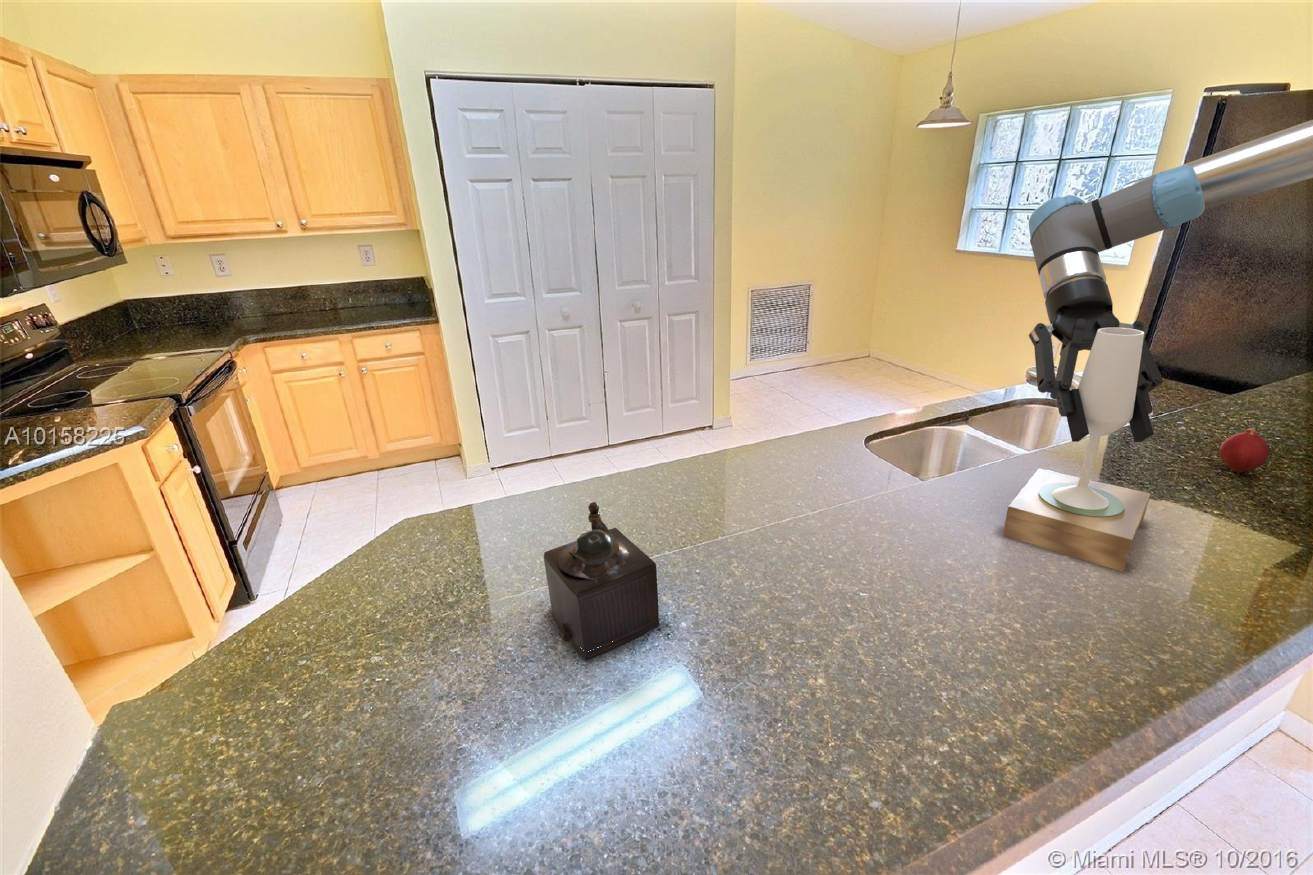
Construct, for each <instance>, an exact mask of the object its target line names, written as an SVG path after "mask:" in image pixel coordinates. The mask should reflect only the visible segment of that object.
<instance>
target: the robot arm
mask: <svg viewBox="0 0 1313 875" xmlns="http://www.w3.org/2000/svg"><path fill="white" fill-rule="evenodd" d="M1311 179H1313V119H1310V120H1308V121H1305V122H1302V123H1299V124H1296V125H1293V126H1290V127H1288V128H1284V129H1282V130H1279V131H1276V132H1273V133H1271V134H1268V135H1265V136H1261V137H1259V138H1255V139H1252V140H1250V141H1247V142H1245V143H1241V144H1238V145H1236V146H1232V147H1230V148H1227V149H1225V150H1220V151H1219V152H1216V153H1212V154H1210V155H1207V156H1204V157H1201V158H1198V159H1195V160H1193V161H1189V162H1187V163H1183V164H1182V165H1179V166H1176V167H1174V168H1170V169H1167V170H1163V171H1161V172H1158V173H1155V174H1152V175H1150V176H1147V177H1141V178H1138V179H1135V180H1132V181H1130V182H1127V183H1126V184H1125V185H1124V186H1122V187H1120V188H1119V189H1118V190H1116V191H1114V192H1111V193H1110V194H1107V195H1104V196H1102V197H1099V198H1095V199H1093V200H1089V201H1087V202H1084V200H1083V199H1082V198H1081V197H1080V196H1077V195H1072V194H1068V195H1065V196H1063V197H1061V196H1056V197H1053V198H1050V199H1048V200H1046V201H1045V202H1042V203H1041V204H1040V205H1039V206H1037V207H1036V208H1035V209H1034V211H1033V212H1032V213H1031V215H1030V217H1029V219H1028V230H1029V237H1030V239H1029V242H1030V246H1031V250H1032V254H1033V258H1034V261H1035V265H1036V270H1037V274H1038V277H1039V282H1040V286H1041V291H1042V296H1043V299H1044V305H1045V309H1046V315H1047V318H1048V321H1049V323H1048V324H1045V323H1042V322H1039V323H1037V324H1036V325H1035V326H1034V327H1033V328H1032V330H1031V331H1030V332H1029V334H1028V338H1029V339H1030V341H1031V344H1032V345H1033V347H1034V359H1035V361H1034V362H1035V373H1036V386H1037V387H1036V388H1037V391H1038V392H1039V393H1041V394H1045V393H1049V395H1050V398H1051V399H1053V400H1056V405H1057V409H1058V414H1059V415H1060V417H1063V418H1065V417H1066V421H1067V426H1068V430H1069V434H1070V438H1071V442H1073V443H1074V442H1080V441H1082V440H1083V439H1084V438H1085V437H1087V436H1088V435H1089V431H1088V427H1087V422H1086V418H1085V414H1084V410H1083V406H1082V401H1081V397H1080V393H1079V389H1078V388H1072V389H1071V387H1072V384H1073V379H1074V374H1075V370H1076V366H1077V361H1078V356H1079V352H1080V351H1084V350H1085V351H1089V352H1090V351H1091V348H1092V345H1093V342H1094V339H1095V336H1096V334H1097V331H1098V329H1101V328H1129V329H1136V330H1140V331H1143V332H1144V327H1145V326H1144V325H1145V324H1144V323H1143V322H1142V321H1141V320H1135V321H1134V322H1133V323H1125V322H1120V320H1119V318H1118V317H1116V316H1115V315H1114V311H1113V309H1114V308H1113V307H1114V306H1113V305H1114V304H1113V299H1112V296H1111V292H1110V289H1109V285H1108V283H1107V277H1106V273H1105V270H1104V267H1103V264H1102V261H1101V258H1100V253H1101V252H1104V251H1108V250H1110V249H1113V248H1115V247H1118V246H1120V245H1124V244H1126V243H1130V242H1133V241H1135V240H1139V239H1141V238H1144V237H1147V236H1150V235H1153V234H1156V233H1159V232H1162V231H1166V230H1168V229H1174V228H1177V227H1178V226H1180V225H1182V224H1184V223H1187V222H1190V221H1192V220H1195V219H1197V218H1199V217H1200V216H1202V215H1203V213H1204V212H1205V211H1207V210H1210V209H1214V208H1217V207H1220V206H1224V205H1227V204H1231V203H1234V202H1237V201H1241V200H1244V199H1247V198H1250V197H1254V196H1257V195H1260V194H1263V193H1267V192H1270V191H1273V190H1277V189H1281V188H1283V187H1287V186H1291V185H1294V184H1297V183H1301V182H1303V181H1306V180H1311ZM1052 337H1055V338H1056V339H1057V340H1058V341H1059V342H1060V343H1061V346H1060V350H1059V356H1060V357H1059V360H1058V366H1057V371H1056V372H1055V360H1054V359H1055V358H1054V350H1053V349H1054V348H1053V339H1052ZM1163 380H1164V379H1163V377H1162V374H1161V372H1160V370H1159V368H1158V365H1157V363H1156V361H1155V359H1154V356H1153V355H1152V352H1151V350H1150V347H1149V345H1148V343H1147V341H1146V338H1145V337H1144V338H1143V345H1142V353H1141V360H1140V367H1139V374H1138V381H1137V388H1136V396H1135V403H1134V410H1133V417H1132V419H1131V420H1130V421H1129V422H1128V423H1129V426H1130V430H1131V434H1132V438H1133V442H1134V443H1142V442H1144V441H1145V440H1148V438H1150V437H1151V436H1153V435H1155V432H1154V428H1153V425H1152V422H1151V418H1150V414H1151V413H1153V410H1154V408H1153V404H1152V401H1151V397H1150V394H1149V393H1150V392H1152V391H1153V390H1154V389H1156V388H1157V387H1159V386H1160V385H1161V384H1162V383H1163V382H1164V381H1163Z"/></svg>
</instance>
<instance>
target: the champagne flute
mask: <svg viewBox="0 0 1313 875" xmlns="http://www.w3.org/2000/svg"><path fill="white" fill-rule="evenodd" d="M1143 338H1145V331H1144V330H1143V331H1140V330H1136V329H1129V328H1101V329H1098V331H1097V334H1096V336H1095V339H1094V342H1093V345H1092V348H1091V351H1090V350H1089V354H1088V357H1087V360H1086V362H1085V365H1084V369H1083V372H1082V374H1081V378H1080V381H1079V383H1078V387H1077V389H1079V393H1080V397H1081V401H1082V406H1083V410H1084V414H1085V418H1086V422H1087V427H1088V431H1089V434H1088V435H1089V437H1088V441H1087V446H1086V450H1085V455H1084V458H1083V463H1082V466H1081V471H1080V475H1079V478H1080V479H1079V483H1078V485H1074V486H1069V487H1063V488H1058V489H1056V490H1054V491H1053V492H1052V495H1053V497H1054V498H1055V499H1057V500H1058V501H1060V502H1062V503H1064V504H1066V505H1069V506H1072V507H1076V508H1081V509H1089V510H1098V509H1104V508H1106V507H1108V506H1109V501H1108V500H1107V499H1106V498H1105V497H1103V496H1102V495H1100V494H1098V493H1097V492H1095V491H1094V490H1092V489H1091V488H1089V487H1088V485H1089V481H1090V480H1091V477H1092V474H1093V469H1094V464H1095V461H1096V457H1097V452H1098V449H1099V444H1100V440H1101V437H1105V436H1108V435H1110V434H1112V433H1114V432H1116V431H1119V430H1121V429H1122V428H1123V427H1125V426H1126V425H1127V424H1128V423H1129V421H1130V420H1131V419H1132V417H1133V410H1134V403H1135V396H1136V388H1137V381H1138V374H1139V367H1140V360H1141V353H1142V345H1143Z"/></svg>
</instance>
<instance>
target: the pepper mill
mask: <svg viewBox="0 0 1313 875" xmlns="http://www.w3.org/2000/svg"><path fill="white" fill-rule="evenodd" d="M587 509H588V512H589V513H588V516H587V518H588V522H589V523H590V524H591V530H589V531H586V532H582V533H581V534H580V535H579V536H578V538H577V539H576V540H575V541H572V542H569V543H565V544H563V545H561V546H557V547H554V548H552V549H549V550H546V551H544V552H543V562H544V567H545V574H546V576H545V577H546V582H547V587H548V588H547V589H548V594H549V601H550V606H551V607H550V608H551V611H550V615H551V617H552V618H553V621H554V622H555V624H556V626H557V631H558V634H559V635H560V636H561V637H562V638H563V639H564V640H565V641H566V642H568V643H569V644H570V645H571V646H572V649H574V650H575V652H576V653H577V654H579V655H580V656H581V658H583V659H584V660H586V661H588V660H591V659H594V658H596V657H599V656H601V655H604V654H607V653H609V652H612V651H614V650H615V649H617V648H620V647H622V646H624V645H626V644H628V643H631V642H633V641H634V640H637V639H638V638H641V637H642V636H644V635H646V634H648V633H649V632H651V631H652V630H654V629H656V628H657V627H659V626H660V621H659V616H660V615H659V614H660V613H659V591H658V590H659V589H658V588H659V587H658V573H657V563H656V562H655V561H654V560H653V559H652V558H651V557H650V556H648V555H647V553H645V552H644V551H642V550H641V549H640V547H638V546H637V545H636V544H635V543H634V542H633V541H631V540H630V539H629V538H628V537H627V536H626V535H625V534H623V532H621V531H620V530H619V529H618V528H617V527H612V528H610V529H609V527H607V525H606V524H605V523H604V522H603V519H602V517H601V512H600V511H599V510H600V505H599V503H598V502H596V501H592V502H589V504H588V506H587ZM612 641H613V642H612ZM600 646H601V647H600ZM580 647H581V648H582V649H581V648H580ZM597 647H599V648H597ZM593 649H594V650H593ZM583 650H584V651H583ZM590 650H591V651H590ZM588 651H589V652H588Z"/></svg>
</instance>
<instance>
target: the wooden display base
mask: <svg viewBox="0 0 1313 875" xmlns="http://www.w3.org/2000/svg"><path fill="white" fill-rule="evenodd" d="M1079 479H1080V476H1075V475H1072V474H1071V475H1070V474H1066V473H1061V472H1057V471H1052V470H1047V469H1043V468H1037V470H1036V471H1035V473H1034V474H1033V475H1032V476H1031V477H1030V479H1029V480H1027V483H1025V485H1024V486H1023V487H1022V489H1021V490H1020V491H1019V492H1018V494H1017V495H1016V496H1015V497H1014V498H1013V500H1012V501H1011V502H1010V503H1009V504H1008V506H1007V511H1006V516H1005V521H1004V526H1003V531H1002V536H1003V537H1007V538H1011V539H1014V540H1017V541H1020V542H1024V543H1027V544H1030V545H1034V546H1036V547H1040V548H1044V549H1047V550H1050V551H1054V552H1057V553H1060V554H1063V555H1067V556H1070V557H1072V558H1077V559H1080V560H1083V561H1086V562H1089V563H1092V564H1096V565H1099V566H1102V567H1106V568H1110V569H1113V570H1115V571H1119V572H1124V571H1125V568H1126V566H1127V561H1128V558H1129V555H1130V551H1131V548H1132V545H1133V542H1134V540H1135V537H1136V535H1137V533H1138V530H1139V527H1142V525H1143V523H1144V518H1145V515H1146V512H1147V508H1148V505H1149V502H1150V498H1151V496H1152V493H1150V492H1145V491H1142V490H1136V489H1133V488H1129V487H1128V488H1127V487H1122V486H1119V485H1116V484H1115V485H1114V484H1110V483H1105V482H1101V481H1096V480H1092V479H1090V481H1089V485H1088V487H1089V488H1091V489H1092V490H1094V491H1095V492H1097V493H1098V494H1100V495H1102V496H1103V497H1105V498H1106V499H1107V500H1108V501H1109V506H1108V507H1106V508H1104V509H1098V510H1089V509H1081V508H1076V507H1072V506H1069V505H1066V504H1064V503H1062V502H1060V501H1058V500H1057V499H1055V498H1054V497H1053V495H1052V492H1053V491H1054V490H1056V489H1058V488H1063V487H1069V486H1074V485H1078V483H1079Z"/></svg>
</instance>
